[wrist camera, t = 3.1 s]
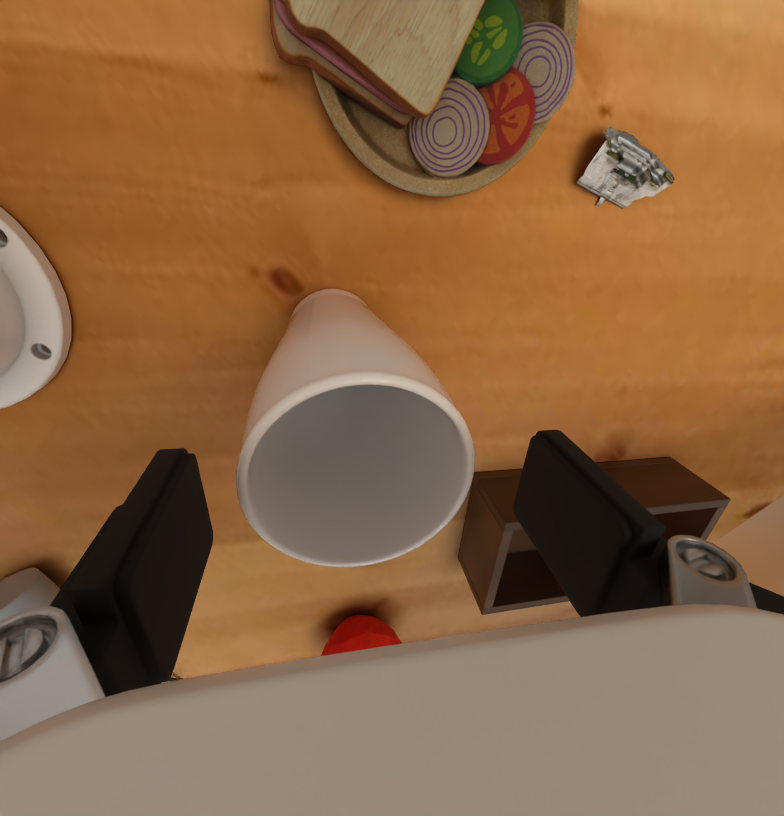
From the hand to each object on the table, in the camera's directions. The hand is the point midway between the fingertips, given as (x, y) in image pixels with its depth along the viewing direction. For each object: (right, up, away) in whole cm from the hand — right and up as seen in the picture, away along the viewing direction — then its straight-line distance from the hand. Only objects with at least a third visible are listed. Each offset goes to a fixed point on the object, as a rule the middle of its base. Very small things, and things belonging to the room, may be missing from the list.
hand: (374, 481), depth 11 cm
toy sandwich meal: (+2, +19, +7) cm, 21 cm away
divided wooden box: (+16, -7, +25) cm, 30 cm away
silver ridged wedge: (+14, +16, +10) cm, 24 cm away
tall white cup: (-3, +7, +13) cm, 15 cm away
